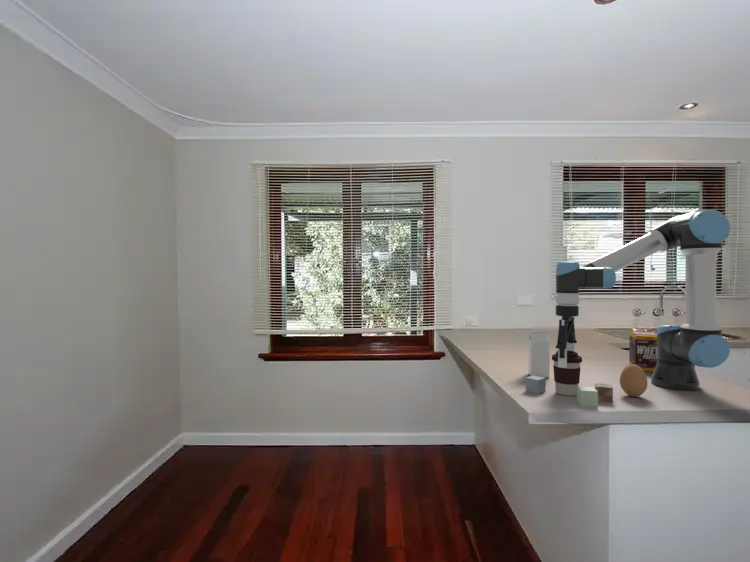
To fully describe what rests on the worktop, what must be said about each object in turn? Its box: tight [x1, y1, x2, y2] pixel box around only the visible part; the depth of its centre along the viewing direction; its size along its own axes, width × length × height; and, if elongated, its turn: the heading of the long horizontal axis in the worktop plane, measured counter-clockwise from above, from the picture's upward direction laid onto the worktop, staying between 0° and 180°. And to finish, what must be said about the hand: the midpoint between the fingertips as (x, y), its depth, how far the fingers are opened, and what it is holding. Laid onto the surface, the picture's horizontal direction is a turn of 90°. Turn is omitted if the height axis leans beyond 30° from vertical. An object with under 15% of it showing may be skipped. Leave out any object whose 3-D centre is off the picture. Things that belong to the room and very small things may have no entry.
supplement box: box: [628, 330, 657, 373], centre depth 194 cm, size 10×15×16 cm
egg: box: [619, 364, 648, 398], centre depth 150 cm, size 8×8×11 cm
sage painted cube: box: [576, 386, 599, 407], centre depth 142 cm, size 5×5×5 cm
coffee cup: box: [551, 350, 583, 397], centre depth 154 cm, size 10×10×15 cm
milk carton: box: [528, 329, 551, 378], centre depth 180 cm, size 7×7×19 cm
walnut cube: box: [594, 382, 614, 404], centre depth 146 cm, size 5×5×5 cm
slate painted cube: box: [525, 375, 547, 394], centre depth 157 cm, size 5×5×5 cm
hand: (566, 364), depth 154 cm, fingers open, 13 cm apart
